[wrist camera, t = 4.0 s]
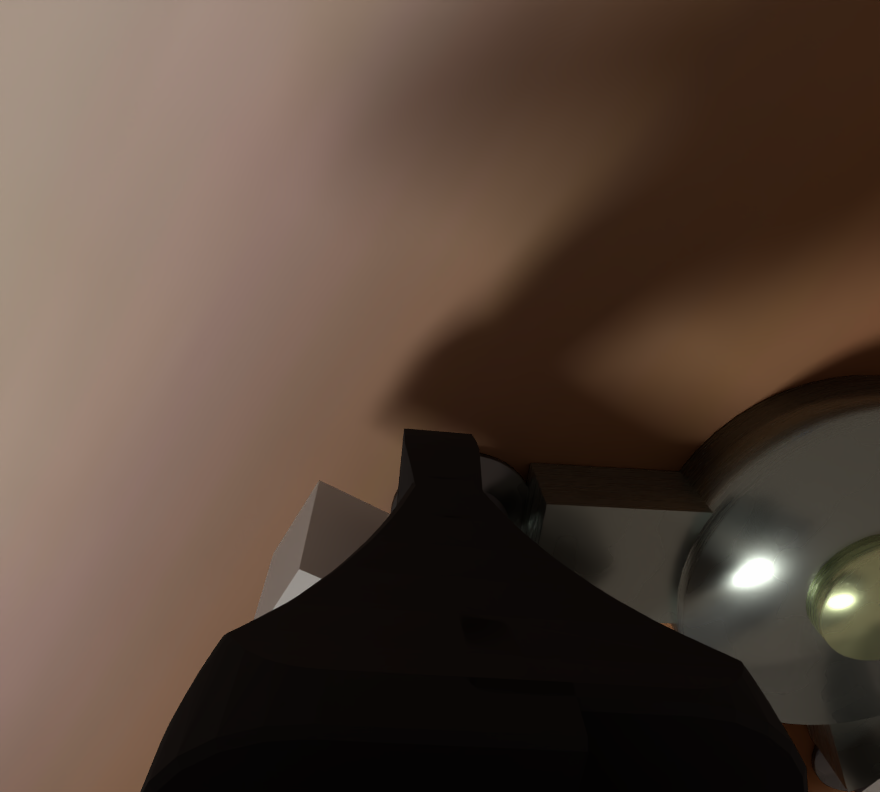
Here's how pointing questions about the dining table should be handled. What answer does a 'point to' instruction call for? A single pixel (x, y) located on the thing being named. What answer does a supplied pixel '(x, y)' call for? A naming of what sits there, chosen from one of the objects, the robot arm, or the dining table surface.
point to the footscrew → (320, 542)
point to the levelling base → (746, 553)
